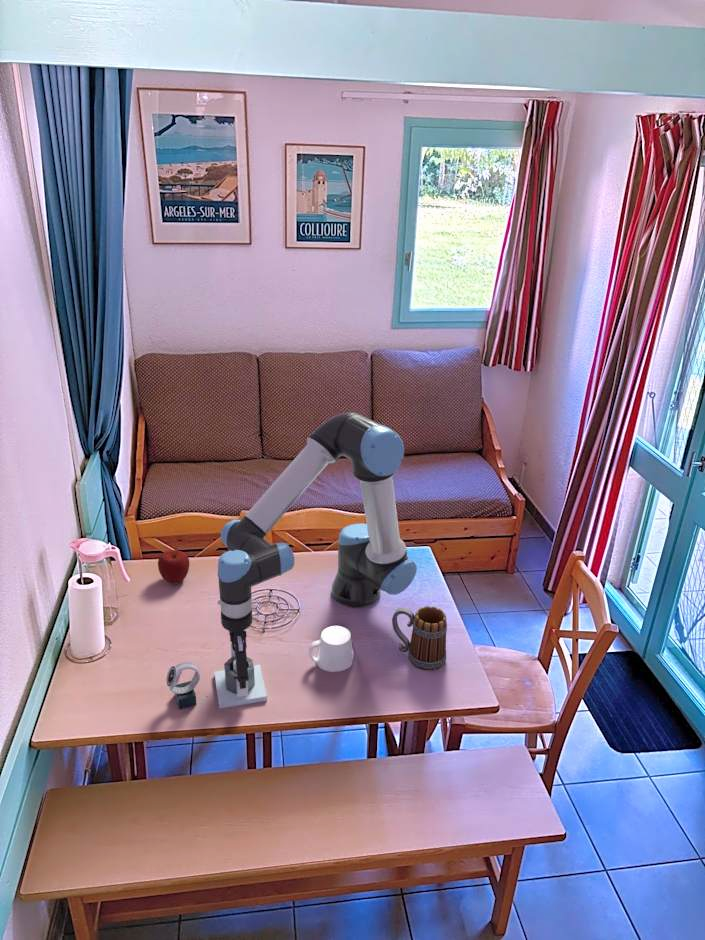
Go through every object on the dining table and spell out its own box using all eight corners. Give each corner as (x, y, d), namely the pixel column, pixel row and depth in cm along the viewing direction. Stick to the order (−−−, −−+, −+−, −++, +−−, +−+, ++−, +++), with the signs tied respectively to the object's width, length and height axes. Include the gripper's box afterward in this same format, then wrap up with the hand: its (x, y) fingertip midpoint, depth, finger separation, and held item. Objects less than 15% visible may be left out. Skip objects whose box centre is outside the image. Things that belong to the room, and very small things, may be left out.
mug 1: (349, 623, 198) (356, 642, 191) (348, 650, 202) (355, 669, 195) (306, 629, 195) (312, 648, 188) (306, 656, 200) (311, 676, 193)
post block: (260, 668, 194) (259, 643, 191) (267, 700, 184) (266, 674, 180) (214, 675, 192) (212, 650, 188) (219, 708, 181) (217, 682, 177)
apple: (187, 589, 225) (184, 562, 220) (156, 588, 225) (153, 561, 220) (193, 572, 233) (191, 545, 229) (163, 571, 233) (161, 544, 229)
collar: (252, 671, 191) (251, 654, 188) (255, 691, 185) (255, 672, 182) (224, 676, 189) (223, 658, 187) (227, 695, 183) (226, 677, 181)
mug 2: (449, 651, 203) (454, 608, 196) (441, 676, 194) (445, 631, 187) (396, 638, 207) (399, 595, 201) (385, 661, 198) (388, 617, 192)
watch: (167, 696, 184) (163, 663, 179) (198, 688, 187) (195, 655, 182) (171, 711, 180) (167, 678, 175) (203, 703, 183) (200, 669, 178)
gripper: (216, 584, 186) (220, 650, 196) (225, 643, 166) (230, 714, 175) (245, 580, 188) (248, 646, 198) (258, 638, 167) (261, 709, 177)
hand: (239, 678), depth 186 cm, fingers open, 11 cm apart
